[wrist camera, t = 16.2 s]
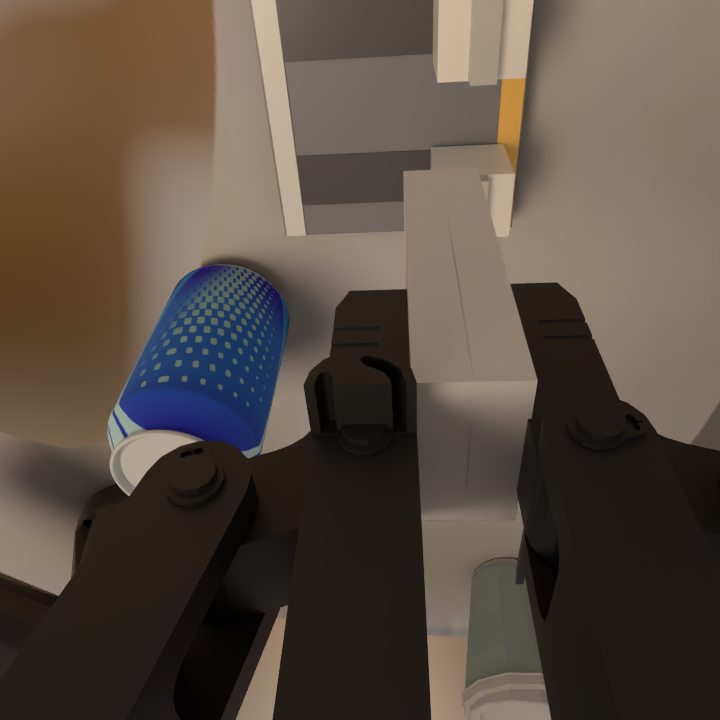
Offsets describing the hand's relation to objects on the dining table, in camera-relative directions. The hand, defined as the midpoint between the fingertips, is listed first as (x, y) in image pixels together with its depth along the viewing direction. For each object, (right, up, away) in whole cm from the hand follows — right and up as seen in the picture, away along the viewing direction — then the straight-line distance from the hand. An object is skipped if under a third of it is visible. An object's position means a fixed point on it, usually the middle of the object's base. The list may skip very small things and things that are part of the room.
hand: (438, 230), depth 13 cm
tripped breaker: (+4, +14, +17) cm, 22 cm away
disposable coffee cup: (+13, -25, +52) cm, 59 cm away
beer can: (-11, +1, +31) cm, 33 cm away
